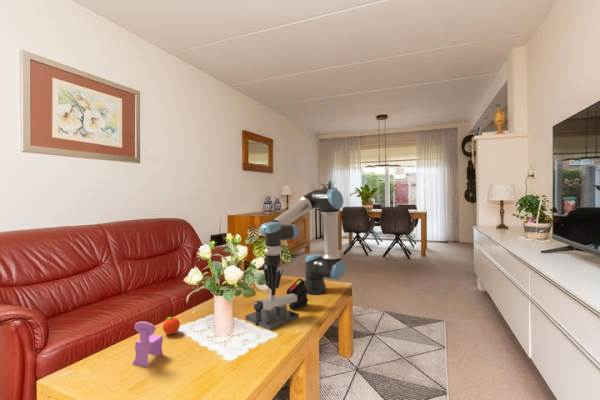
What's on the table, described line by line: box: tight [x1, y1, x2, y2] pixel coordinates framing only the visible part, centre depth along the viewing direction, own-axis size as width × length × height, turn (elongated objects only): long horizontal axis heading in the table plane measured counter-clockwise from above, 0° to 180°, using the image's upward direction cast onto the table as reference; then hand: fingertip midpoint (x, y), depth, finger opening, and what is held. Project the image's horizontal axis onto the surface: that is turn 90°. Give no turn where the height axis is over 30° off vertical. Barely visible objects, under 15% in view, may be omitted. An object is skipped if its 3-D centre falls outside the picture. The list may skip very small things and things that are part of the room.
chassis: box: [245, 304, 300, 331], centre depth 148 cm, size 20×18×7 cm
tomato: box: [162, 316, 181, 335], centre depth 132 cm, size 8×7×7 cm
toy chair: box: [132, 321, 164, 368], centre depth 111 cm, size 8×9×15 cm
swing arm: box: [253, 293, 297, 311], centre depth 146 cm, size 22×4×3 cm, turn 123°
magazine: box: [285, 278, 309, 311], centre depth 163 cm, size 4×13×15 cm, turn 136°
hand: (271, 301), depth 149 cm, fingers closed
